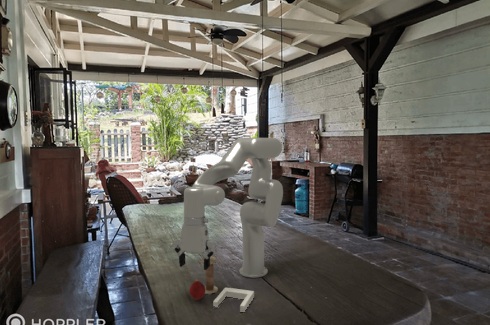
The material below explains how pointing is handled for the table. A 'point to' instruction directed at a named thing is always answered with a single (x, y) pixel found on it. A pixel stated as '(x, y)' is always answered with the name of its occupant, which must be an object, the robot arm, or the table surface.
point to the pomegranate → (197, 290)
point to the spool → (210, 277)
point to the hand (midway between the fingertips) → (194, 267)
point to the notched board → (235, 293)
